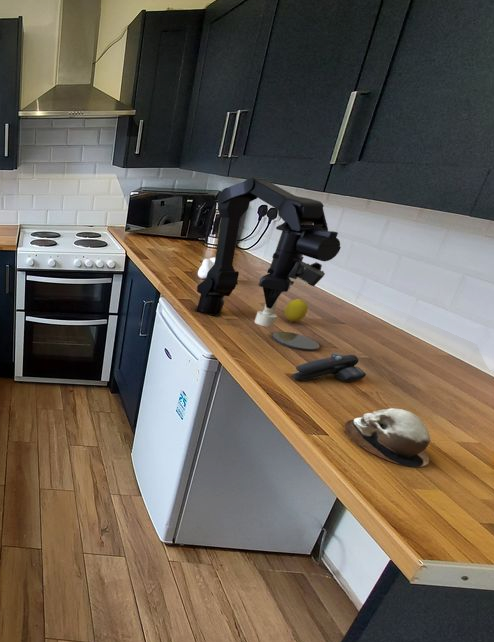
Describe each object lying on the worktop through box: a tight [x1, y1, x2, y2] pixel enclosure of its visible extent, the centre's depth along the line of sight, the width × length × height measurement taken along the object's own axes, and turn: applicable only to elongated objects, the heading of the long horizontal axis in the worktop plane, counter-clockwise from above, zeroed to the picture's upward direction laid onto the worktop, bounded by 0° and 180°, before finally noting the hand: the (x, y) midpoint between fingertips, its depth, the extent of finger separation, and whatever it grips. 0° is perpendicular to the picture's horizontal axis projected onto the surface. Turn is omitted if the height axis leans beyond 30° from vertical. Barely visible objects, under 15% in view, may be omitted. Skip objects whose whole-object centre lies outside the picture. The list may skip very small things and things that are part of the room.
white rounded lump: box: [197, 256, 216, 280], centre depth 164 cm, size 11×12×9 cm
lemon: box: [284, 298, 308, 323], centre depth 127 cm, size 6×6×8 cm
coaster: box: [271, 331, 320, 352], centre depth 115 cm, size 11×11×1 cm
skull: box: [344, 407, 431, 468], centre depth 75 cm, size 12×10×10 cm
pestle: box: [254, 296, 280, 328], centre depth 109 cm, size 5×5×12 cm
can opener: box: [291, 352, 367, 383], centre depth 96 cm, size 18×7×6 cm, turn 100°
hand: (269, 306), depth 109 cm, fingers closed on pestle, 2 cm apart
